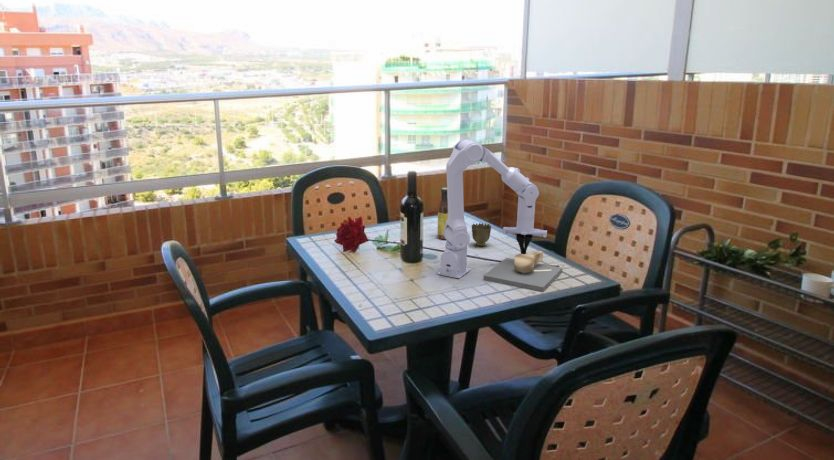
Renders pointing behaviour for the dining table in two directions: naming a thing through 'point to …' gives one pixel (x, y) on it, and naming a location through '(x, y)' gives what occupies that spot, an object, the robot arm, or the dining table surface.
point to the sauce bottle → (442, 213)
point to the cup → (481, 233)
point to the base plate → (523, 275)
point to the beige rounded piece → (527, 261)
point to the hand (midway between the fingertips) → (523, 255)
